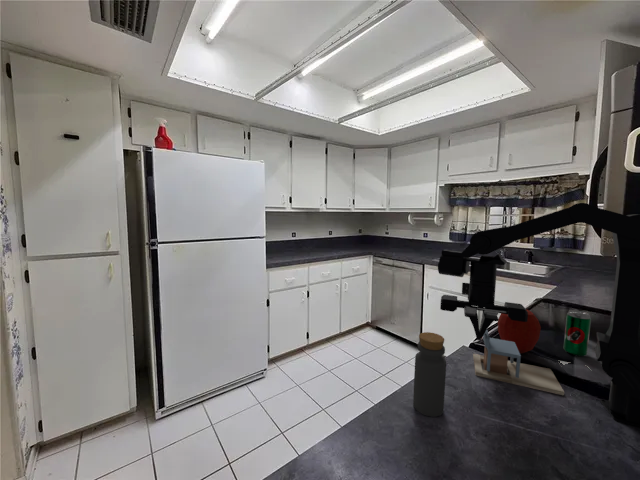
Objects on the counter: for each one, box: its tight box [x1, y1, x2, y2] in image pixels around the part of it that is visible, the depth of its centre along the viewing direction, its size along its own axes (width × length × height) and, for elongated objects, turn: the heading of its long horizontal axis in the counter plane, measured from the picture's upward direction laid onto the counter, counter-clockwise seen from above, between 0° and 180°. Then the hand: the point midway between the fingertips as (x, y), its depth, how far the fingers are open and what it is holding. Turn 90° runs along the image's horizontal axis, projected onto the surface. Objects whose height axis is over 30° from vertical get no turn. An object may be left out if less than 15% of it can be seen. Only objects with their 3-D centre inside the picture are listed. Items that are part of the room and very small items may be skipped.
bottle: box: [412, 331, 447, 418], centre depth 57 cm, size 6×6×15 cm
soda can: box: [563, 309, 592, 357], centre depth 80 cm, size 5×5×12 cm
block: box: [483, 347, 509, 375], centre depth 71 cm, size 4×4×5 cm
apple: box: [497, 309, 542, 354], centre depth 81 cm, size 10×10×14 cm
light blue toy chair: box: [482, 329, 522, 378], centre depth 70 cm, size 8×7×8 cm
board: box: [472, 353, 565, 396], centre depth 70 cm, size 10×17×1 cm, turn 64°
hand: (478, 339), depth 72 cm, fingers closed
